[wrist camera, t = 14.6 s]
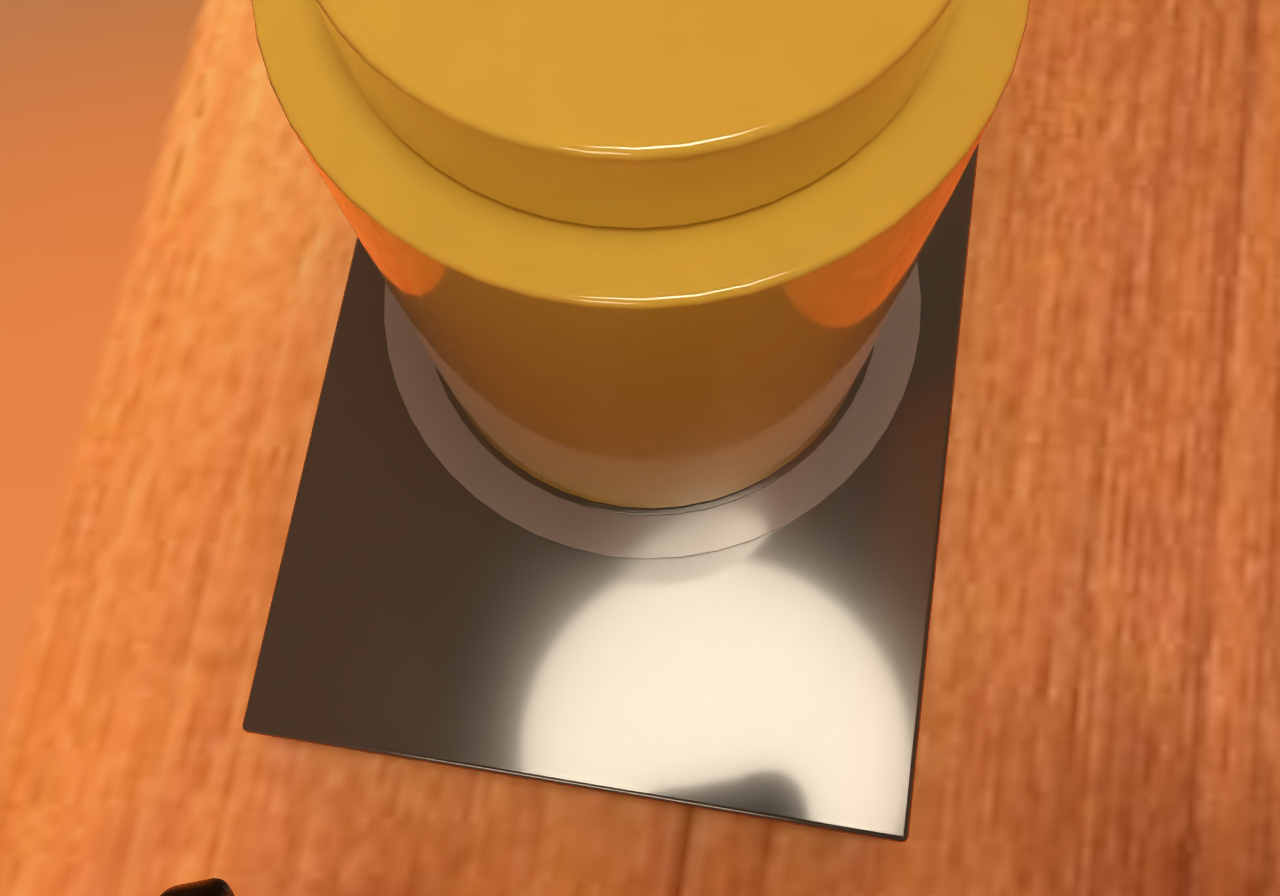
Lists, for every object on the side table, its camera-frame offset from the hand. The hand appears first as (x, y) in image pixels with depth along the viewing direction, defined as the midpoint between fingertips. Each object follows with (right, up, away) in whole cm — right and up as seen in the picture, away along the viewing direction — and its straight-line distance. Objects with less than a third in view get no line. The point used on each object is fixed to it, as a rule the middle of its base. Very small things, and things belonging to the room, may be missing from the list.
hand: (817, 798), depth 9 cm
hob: (-1, +5, +9) cm, 11 cm away
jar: (-1, +5, +8) cm, 10 cm away
